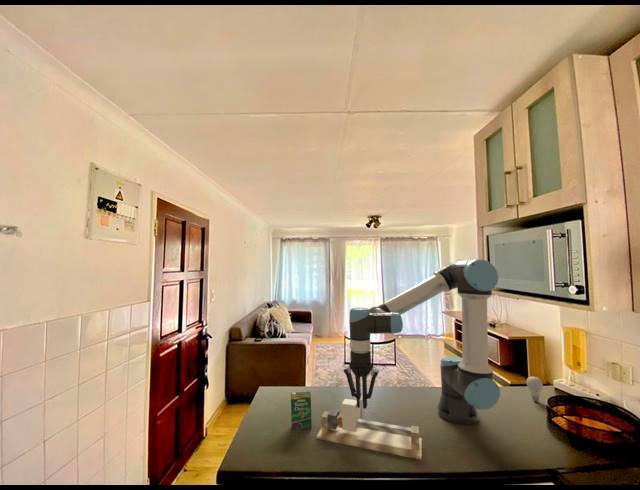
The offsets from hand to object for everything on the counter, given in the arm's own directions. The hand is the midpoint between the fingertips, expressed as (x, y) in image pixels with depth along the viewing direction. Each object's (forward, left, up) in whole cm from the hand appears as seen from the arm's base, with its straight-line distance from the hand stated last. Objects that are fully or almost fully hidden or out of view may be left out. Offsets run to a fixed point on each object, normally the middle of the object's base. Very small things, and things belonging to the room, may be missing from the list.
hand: (362, 416), depth 106 cm
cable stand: (-2, 0, -8) cm, 8 cm away
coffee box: (+24, +1, -8) cm, 25 cm away
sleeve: (+5, 0, -5) cm, 6 cm away
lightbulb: (-69, -54, -8) cm, 88 cm away
